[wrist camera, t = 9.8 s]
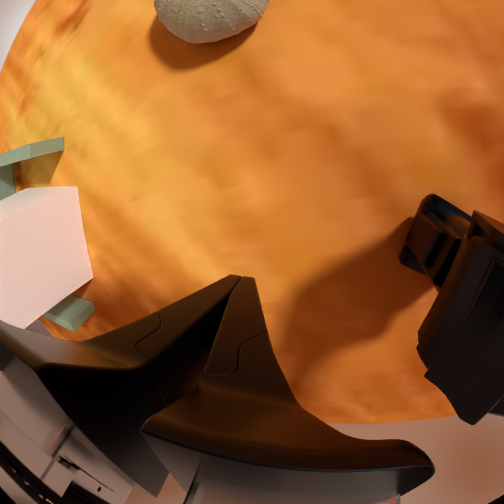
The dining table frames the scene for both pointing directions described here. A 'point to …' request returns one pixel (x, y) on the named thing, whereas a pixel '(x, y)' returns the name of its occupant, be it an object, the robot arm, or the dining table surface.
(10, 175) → the corral
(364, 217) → the dining table surface
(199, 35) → the sea urchin shell
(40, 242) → the milk
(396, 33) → the dining table surface
